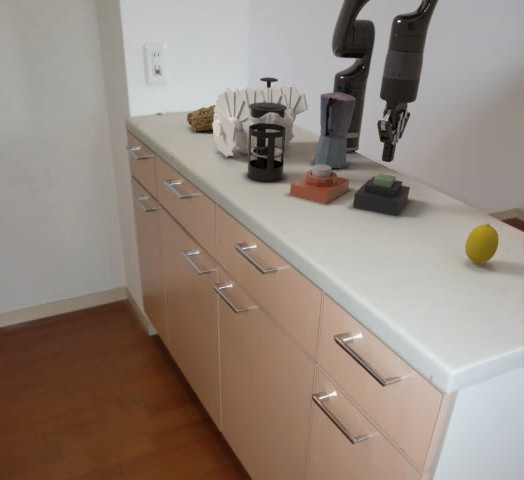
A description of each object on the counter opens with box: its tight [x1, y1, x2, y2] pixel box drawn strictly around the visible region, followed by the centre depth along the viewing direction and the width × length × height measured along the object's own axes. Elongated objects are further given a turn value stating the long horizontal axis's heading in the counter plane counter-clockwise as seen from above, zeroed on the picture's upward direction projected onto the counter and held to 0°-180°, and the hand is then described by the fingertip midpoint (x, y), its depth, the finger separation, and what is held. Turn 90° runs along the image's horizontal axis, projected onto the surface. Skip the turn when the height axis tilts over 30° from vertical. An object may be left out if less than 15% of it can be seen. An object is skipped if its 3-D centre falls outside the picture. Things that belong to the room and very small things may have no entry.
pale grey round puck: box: [311, 164, 332, 178], centre depth 130 cm, size 4×4×2 cm
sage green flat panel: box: [373, 173, 397, 188], centre depth 125 cm, size 4×4×2 cm
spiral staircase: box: [212, 83, 309, 159], centre depth 154 cm, size 18×18×25 cm
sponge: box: [186, 104, 216, 132], centre depth 178 cm, size 13×8×20 cm
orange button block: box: [289, 169, 350, 205], centre depth 131 cm, size 12×10×4 cm
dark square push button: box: [352, 176, 411, 217], centre depth 126 cm, size 11×10×5 cm
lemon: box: [464, 223, 499, 265], centre depth 101 cm, size 6×6×8 cm
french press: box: [246, 76, 287, 184], centre depth 135 cm, size 12×9×23 cm
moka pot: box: [313, 85, 356, 169], centre depth 145 cm, size 10×15×20 cm, turn 161°
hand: (387, 160), depth 122 cm, fingers closed
